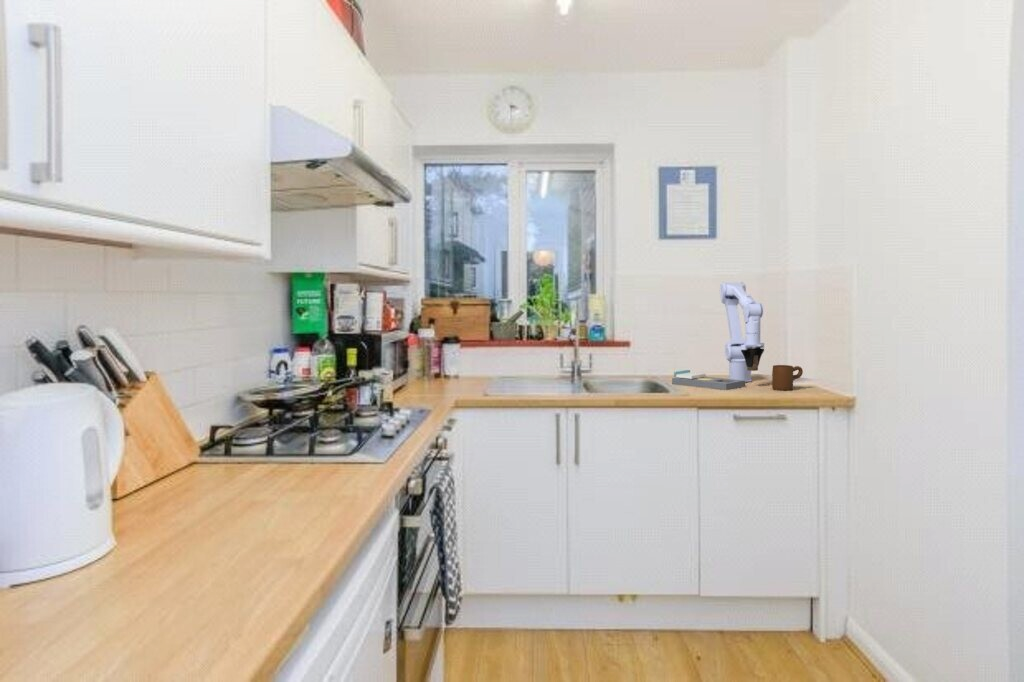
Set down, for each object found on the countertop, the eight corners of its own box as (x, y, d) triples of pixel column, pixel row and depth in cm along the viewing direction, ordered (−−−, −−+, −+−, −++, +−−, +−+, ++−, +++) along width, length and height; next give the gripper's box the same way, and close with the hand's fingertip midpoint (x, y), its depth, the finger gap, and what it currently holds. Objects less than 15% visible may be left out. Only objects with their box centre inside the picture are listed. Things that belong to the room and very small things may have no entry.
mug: (797, 387, 257) (797, 364, 256) (807, 390, 250) (807, 366, 249) (768, 388, 256) (768, 365, 255) (778, 391, 248) (778, 367, 248)
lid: (687, 374, 282) (687, 369, 281) (705, 376, 275) (705, 371, 274) (673, 376, 275) (673, 371, 275) (691, 378, 268) (691, 373, 268)
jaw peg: (750, 369, 263) (750, 354, 263) (759, 370, 260) (759, 355, 260) (745, 370, 261) (745, 355, 260) (754, 370, 258) (754, 356, 257)
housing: (691, 380, 283) (691, 375, 282) (745, 386, 263) (745, 380, 262) (672, 383, 274) (672, 377, 274) (726, 390, 254) (726, 383, 254)
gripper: (752, 334, 252) (752, 368, 253) (771, 332, 261) (771, 365, 262) (736, 333, 257) (736, 367, 258) (755, 332, 266) (755, 364, 267)
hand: (752, 366), depth 260 cm, fingers closed on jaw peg, 4 cm apart
